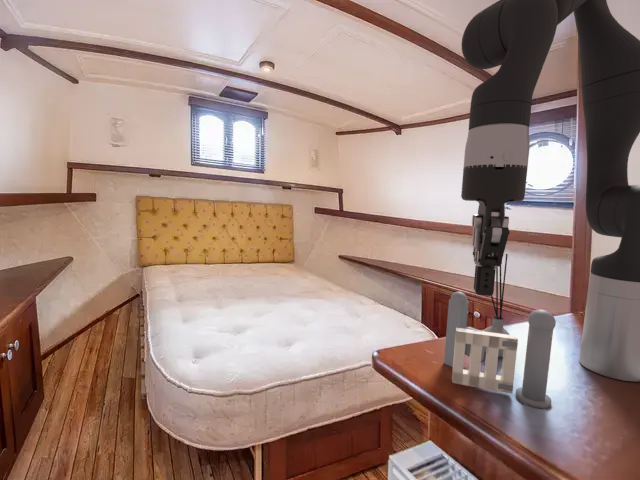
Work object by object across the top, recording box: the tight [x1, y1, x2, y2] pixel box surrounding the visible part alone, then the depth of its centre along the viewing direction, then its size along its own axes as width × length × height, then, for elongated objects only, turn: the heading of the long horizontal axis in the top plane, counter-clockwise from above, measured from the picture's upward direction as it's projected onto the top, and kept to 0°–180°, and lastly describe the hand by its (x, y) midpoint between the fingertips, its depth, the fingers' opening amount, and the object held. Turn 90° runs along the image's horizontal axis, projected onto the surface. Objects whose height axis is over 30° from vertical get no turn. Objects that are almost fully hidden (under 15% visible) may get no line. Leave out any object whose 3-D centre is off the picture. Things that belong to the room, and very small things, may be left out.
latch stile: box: [443, 290, 486, 368], centre depth 60 cm, size 4×6×14 cm
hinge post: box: [514, 309, 557, 410], centre depth 50 cm, size 5×5×14 cm
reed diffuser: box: [483, 253, 511, 357], centre depth 66 cm, size 10×7×20 cm
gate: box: [451, 328, 519, 395], centre depth 53 cm, size 8×2×9 cm, turn 72°
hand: (483, 293), depth 47 cm, fingers closed
